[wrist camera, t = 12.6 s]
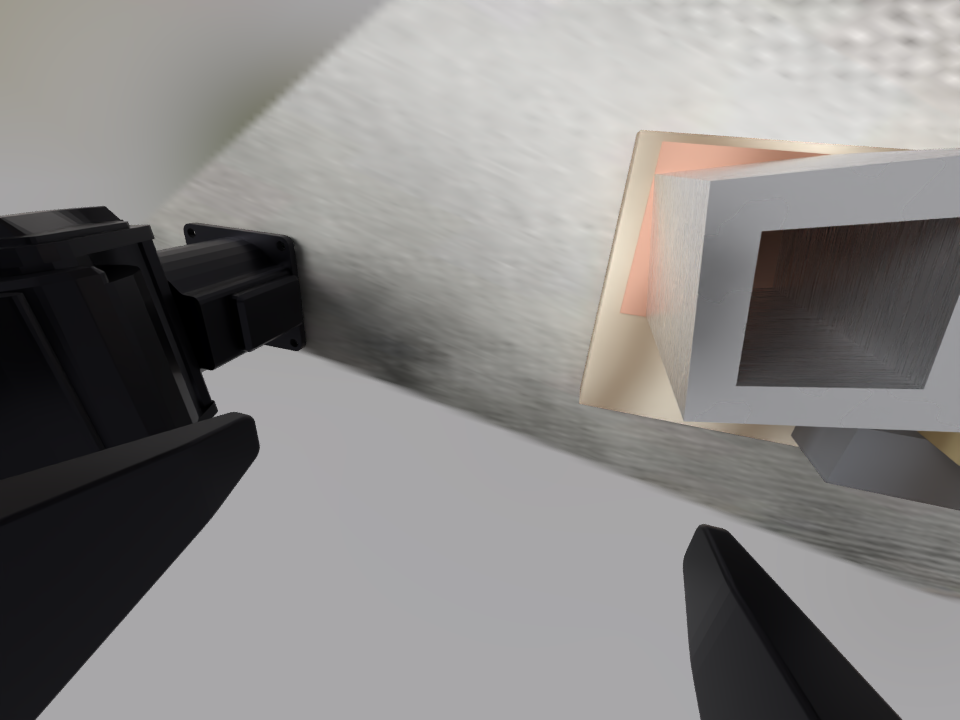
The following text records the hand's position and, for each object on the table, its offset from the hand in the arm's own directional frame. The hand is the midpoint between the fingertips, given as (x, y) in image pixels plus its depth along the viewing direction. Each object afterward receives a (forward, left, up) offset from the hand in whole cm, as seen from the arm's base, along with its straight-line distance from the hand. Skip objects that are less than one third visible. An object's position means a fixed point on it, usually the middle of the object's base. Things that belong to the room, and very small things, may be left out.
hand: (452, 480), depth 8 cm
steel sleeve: (+7, +4, -11) cm, 14 cm away
